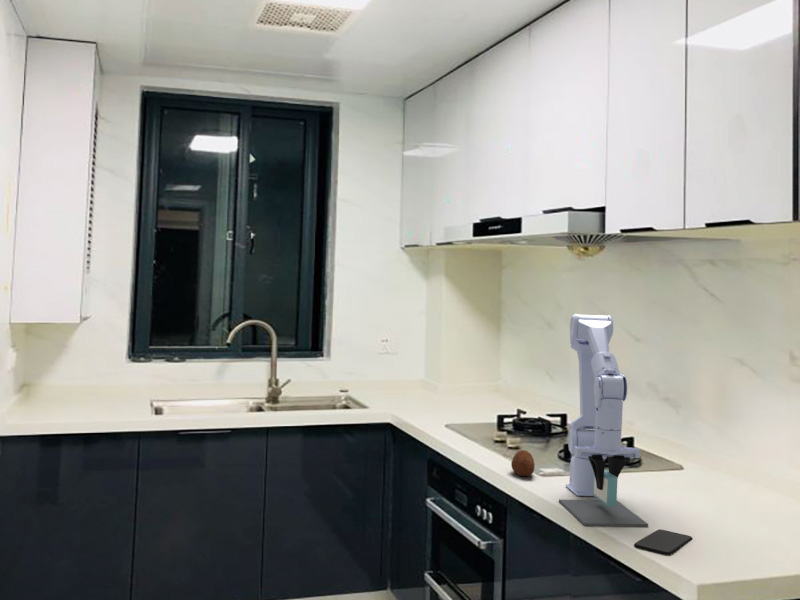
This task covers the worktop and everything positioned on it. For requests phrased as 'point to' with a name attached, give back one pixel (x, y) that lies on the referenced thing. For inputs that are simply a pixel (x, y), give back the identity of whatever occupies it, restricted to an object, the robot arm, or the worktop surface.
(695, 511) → the worktop surface
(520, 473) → the potato
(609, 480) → the block
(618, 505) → the mat
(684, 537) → the smartphone
